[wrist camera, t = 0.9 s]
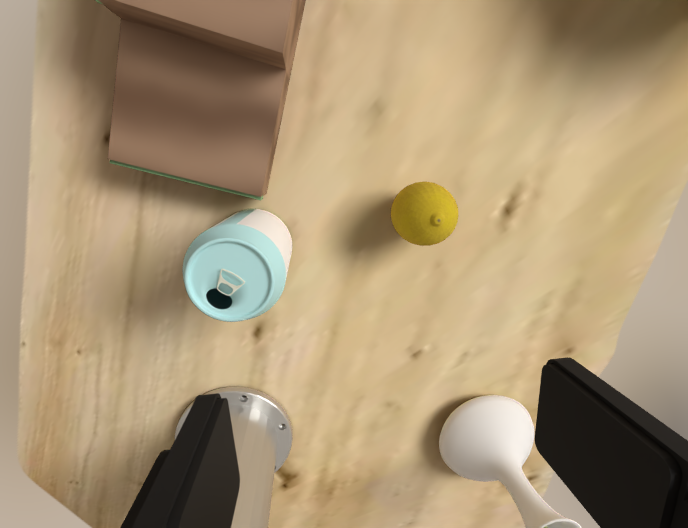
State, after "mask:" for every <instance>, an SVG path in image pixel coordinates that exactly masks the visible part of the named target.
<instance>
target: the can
mask: <svg viewBox="0 0 688 528" xmlns="http://www.w3.org/2000/svg"><path fill="white" fill-rule="evenodd" d="M291 253H292V239H291V236H290V233H289V231H288V229H287V227H286V226H285V224H284V223H283V222H282V221H281V220H280V219H279V218H278V217H277V216H275V215H274V214H272V213H270V212H268V211H265V210H261V209H246V210H242V211H239V212H237V213H235V214H233V215H231V216H230V217H228V218H226V219H225V220H223V221H221V222H220V223H218V224H216V225H214V226H213V227H211V228H209V229H208V230H206V231H204V232H203V233H201V234H200V235H199V236H198V237H197V238H196V239H195V240H194V241H193V242H192V243H191V245H190V246H189V248H188V250H187V252H186V254H185V257H184V261H183V279H184V283H185V288H186V291H187V293H188V296H189V297H190V299H191V301H192V302H193V303H194V305H195V306H196V307H197V308H198V309H199V310H200V311H202V312H203V313H204V314H206V315H208V316H210V317H212V318H214V319H217V320H221V321H227V322H236V321H243V320H248V319H252V318H255V317H257V316H259V315H261V314H263V313H265V312H266V311H268V310H269V309H270V308H271V307H272V306H273V305H274V304H275V303H276V302H277V301H278V299H279V298H280V296H281V294H282V292H283V289H284V286H285V282H286V277H287V272H288V267H289V263H290V258H291Z"/></svg>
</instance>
